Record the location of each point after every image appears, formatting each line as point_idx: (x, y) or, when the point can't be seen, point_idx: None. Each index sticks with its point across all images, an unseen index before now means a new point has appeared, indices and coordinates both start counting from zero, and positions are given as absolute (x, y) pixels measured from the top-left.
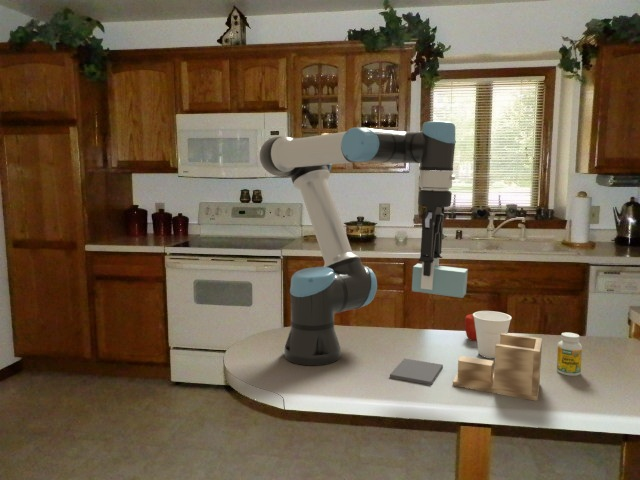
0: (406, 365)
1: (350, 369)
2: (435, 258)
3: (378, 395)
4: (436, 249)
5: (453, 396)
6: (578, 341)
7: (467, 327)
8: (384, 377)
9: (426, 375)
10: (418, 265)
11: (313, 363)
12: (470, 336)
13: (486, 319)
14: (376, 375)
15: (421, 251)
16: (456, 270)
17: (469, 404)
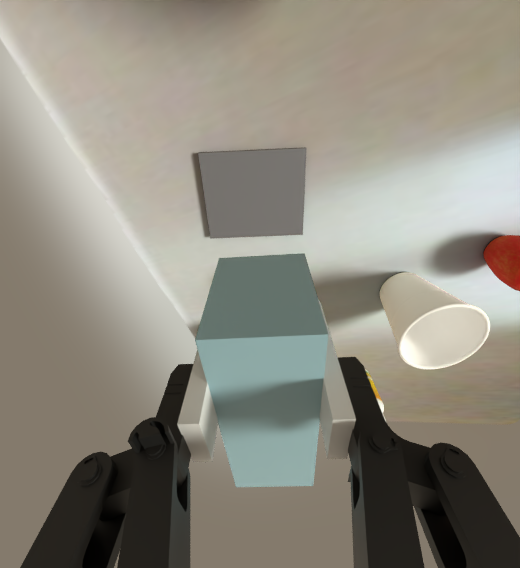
0: (264, 168)
1: (187, 27)
2: (338, 448)
3: (109, 165)
4: (355, 530)
5: (191, 275)
6: None
7: (510, 248)
8: (193, 140)
9: (233, 223)
10: (255, 353)
11: None
12: (490, 247)
13: (469, 313)
14: (193, 118)
15: (35, 544)
16: (253, 470)
17: (179, 298)
